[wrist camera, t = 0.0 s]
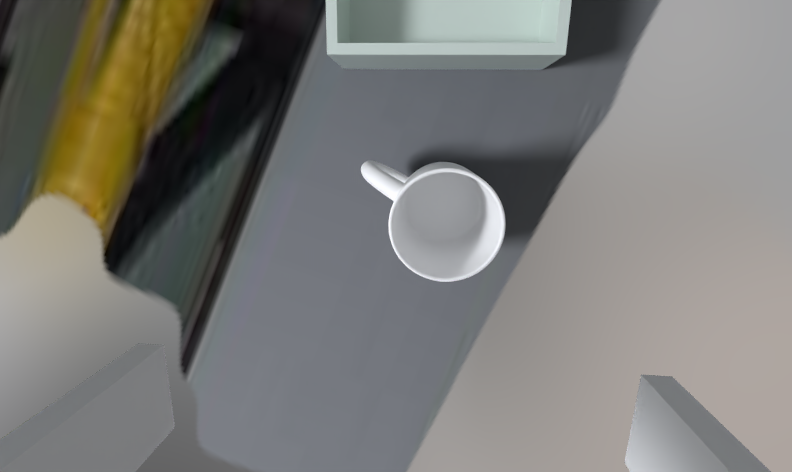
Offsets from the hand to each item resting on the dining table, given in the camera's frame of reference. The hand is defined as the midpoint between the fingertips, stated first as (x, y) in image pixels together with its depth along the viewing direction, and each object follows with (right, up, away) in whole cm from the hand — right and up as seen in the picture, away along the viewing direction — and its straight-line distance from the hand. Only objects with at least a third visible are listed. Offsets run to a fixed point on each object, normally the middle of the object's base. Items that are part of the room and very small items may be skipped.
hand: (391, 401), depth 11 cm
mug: (+3, +9, +27) cm, 28 cm away
